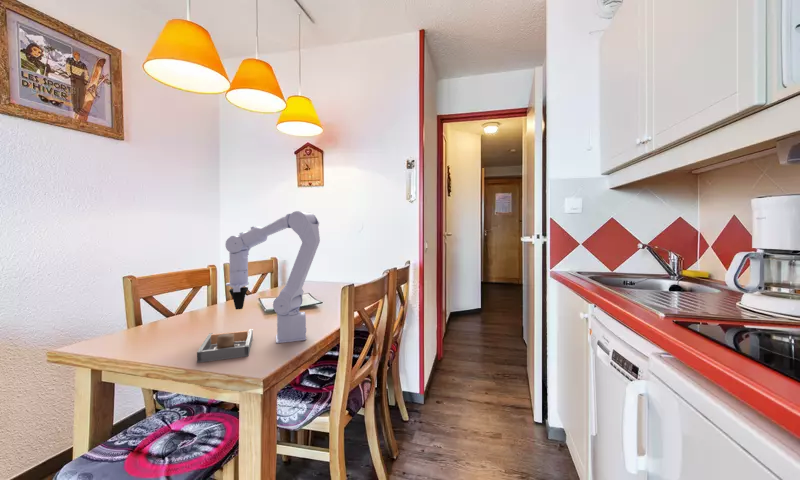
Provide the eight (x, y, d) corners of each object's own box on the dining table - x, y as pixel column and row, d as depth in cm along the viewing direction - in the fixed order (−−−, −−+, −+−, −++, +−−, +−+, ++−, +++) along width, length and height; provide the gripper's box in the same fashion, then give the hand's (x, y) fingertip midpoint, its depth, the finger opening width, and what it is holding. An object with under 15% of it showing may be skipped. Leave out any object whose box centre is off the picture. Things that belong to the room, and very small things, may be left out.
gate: (247, 339, 104) (247, 330, 104) (247, 340, 103) (247, 331, 103) (211, 343, 100) (211, 334, 100) (211, 344, 99) (210, 335, 99)
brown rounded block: (234, 348, 96) (234, 332, 96) (233, 354, 92) (232, 337, 92) (218, 350, 95) (218, 334, 95) (216, 356, 91) (215, 339, 90)
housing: (252, 337, 108) (252, 329, 108) (248, 356, 92) (248, 346, 92) (209, 342, 103) (209, 333, 103) (197, 362, 87) (197, 352, 87)
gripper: (228, 268, 114) (229, 305, 115) (222, 273, 101) (222, 315, 101) (250, 267, 117) (250, 303, 117) (246, 272, 103) (247, 313, 104)
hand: (239, 308), depth 110 cm, fingers closed
